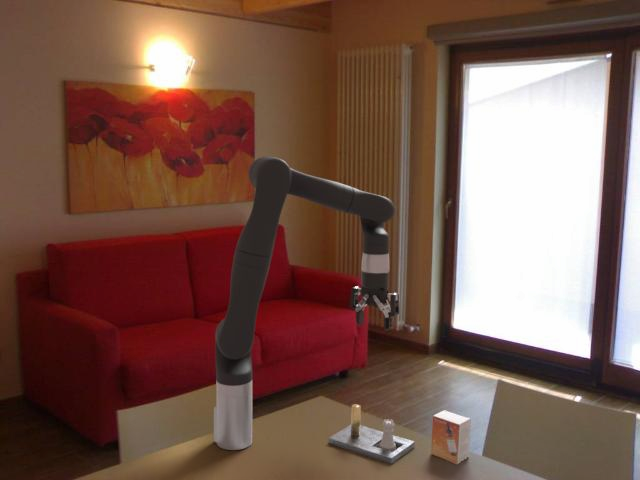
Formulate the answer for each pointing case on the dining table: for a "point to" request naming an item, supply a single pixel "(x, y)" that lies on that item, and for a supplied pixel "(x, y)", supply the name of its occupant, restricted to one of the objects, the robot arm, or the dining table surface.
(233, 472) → the dining table surface
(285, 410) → the dining table surface
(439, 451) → the small box
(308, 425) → the dining table surface
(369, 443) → the bolt plate
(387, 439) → the rook chess piece
